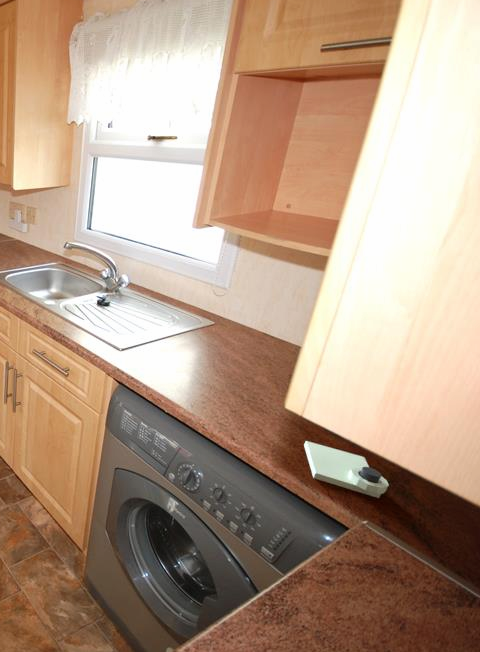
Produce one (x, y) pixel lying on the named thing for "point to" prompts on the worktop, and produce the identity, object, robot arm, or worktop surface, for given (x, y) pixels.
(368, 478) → the button
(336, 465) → the scale
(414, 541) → the worktop surface
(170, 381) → the worktop surface
